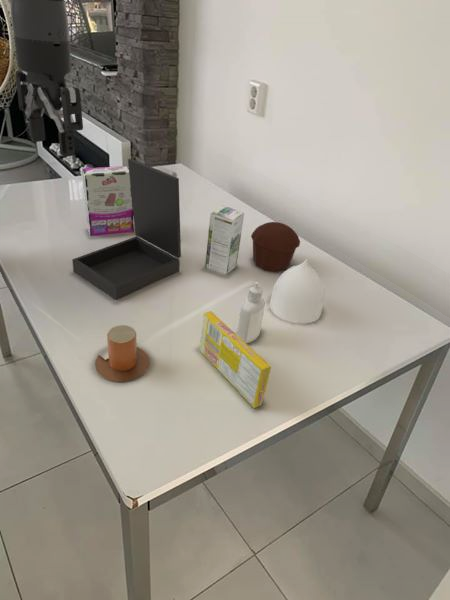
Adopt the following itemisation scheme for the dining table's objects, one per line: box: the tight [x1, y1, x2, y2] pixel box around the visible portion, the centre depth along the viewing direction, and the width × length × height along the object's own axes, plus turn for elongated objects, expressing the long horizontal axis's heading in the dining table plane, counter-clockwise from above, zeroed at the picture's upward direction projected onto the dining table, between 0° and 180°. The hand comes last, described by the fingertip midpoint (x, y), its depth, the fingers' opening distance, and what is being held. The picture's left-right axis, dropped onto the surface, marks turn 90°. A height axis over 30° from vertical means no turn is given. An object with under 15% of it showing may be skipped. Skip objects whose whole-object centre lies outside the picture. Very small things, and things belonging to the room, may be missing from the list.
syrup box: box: [204, 205, 245, 276], centre depth 102 cm, size 6×6×14 cm
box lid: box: [127, 158, 182, 259], centre depth 99 cm, size 18×15×5 cm
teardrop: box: [269, 258, 326, 325], centre depth 92 cm, size 11×11×12 cm
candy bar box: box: [81, 165, 135, 237], centre depth 111 cm, size 11×5×16 cm, turn 114°
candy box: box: [199, 311, 272, 409], centre depth 74 cm, size 16×2×8 cm, turn 35°
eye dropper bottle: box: [236, 281, 266, 345], centre depth 83 cm, size 4×6×12 cm
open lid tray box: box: [71, 235, 181, 301], centre depth 99 cm, size 18×15×4 cm
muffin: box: [251, 221, 301, 273], centre depth 108 cm, size 12×11×10 cm
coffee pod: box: [106, 324, 137, 371], centre depth 75 cm, size 5×5×6 cm
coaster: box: [94, 346, 150, 383], centre depth 76 cm, size 9×9×1 cm
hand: (52, 148), depth 74 cm, fingers open, 8 cm apart
